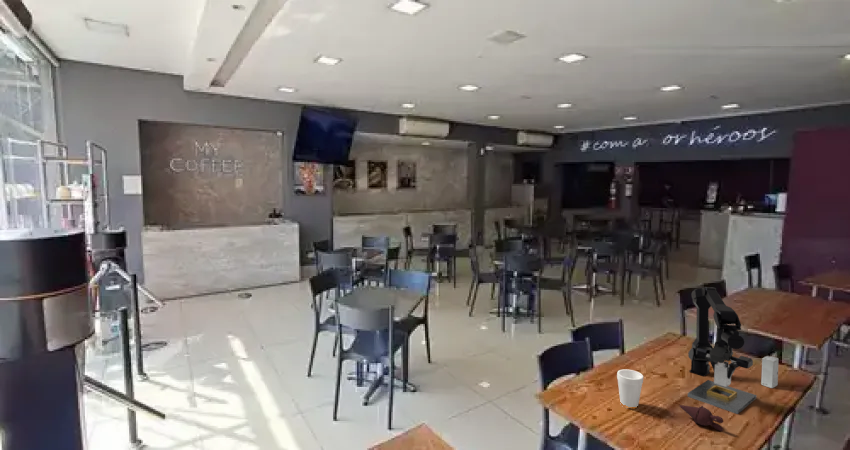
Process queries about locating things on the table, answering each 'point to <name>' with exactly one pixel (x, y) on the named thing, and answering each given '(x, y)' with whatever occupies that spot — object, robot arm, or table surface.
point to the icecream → (703, 416)
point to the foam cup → (629, 387)
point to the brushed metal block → (722, 374)
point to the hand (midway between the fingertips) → (722, 376)
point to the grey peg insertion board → (722, 396)
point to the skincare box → (769, 372)
